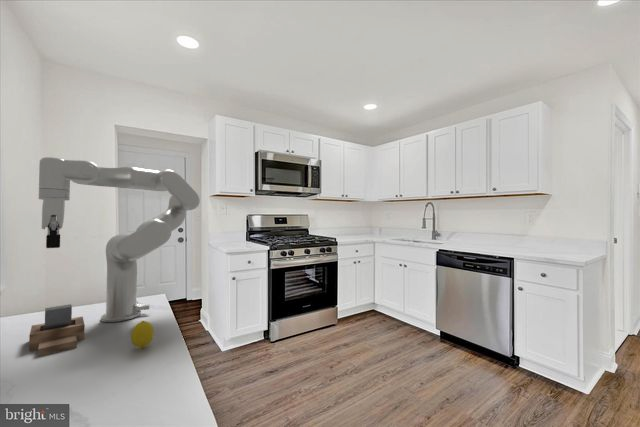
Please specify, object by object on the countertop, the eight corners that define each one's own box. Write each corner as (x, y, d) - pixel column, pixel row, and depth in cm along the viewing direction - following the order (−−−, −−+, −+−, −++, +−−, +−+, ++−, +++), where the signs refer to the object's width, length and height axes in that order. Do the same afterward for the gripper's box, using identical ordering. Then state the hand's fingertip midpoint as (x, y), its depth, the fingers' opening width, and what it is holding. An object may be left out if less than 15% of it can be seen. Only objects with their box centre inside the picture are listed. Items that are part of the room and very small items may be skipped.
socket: (81, 325, 99) (81, 312, 99) (85, 345, 83) (86, 330, 83) (32, 334, 91) (33, 320, 91) (27, 358, 75) (27, 342, 75)
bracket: (70, 335, 90) (71, 304, 91) (71, 338, 88) (71, 306, 88) (44, 340, 86) (45, 308, 87) (44, 344, 84) (45, 310, 84)
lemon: (142, 354, 78) (143, 325, 78) (125, 352, 79) (126, 323, 79) (157, 345, 83) (158, 318, 84) (142, 343, 84) (142, 316, 85)
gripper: (39, 196, 97) (38, 245, 97) (37, 192, 85) (35, 249, 84) (68, 197, 102) (67, 244, 102) (70, 194, 90) (69, 248, 89)
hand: (53, 246), depth 93 cm, fingers open, 9 cm apart
